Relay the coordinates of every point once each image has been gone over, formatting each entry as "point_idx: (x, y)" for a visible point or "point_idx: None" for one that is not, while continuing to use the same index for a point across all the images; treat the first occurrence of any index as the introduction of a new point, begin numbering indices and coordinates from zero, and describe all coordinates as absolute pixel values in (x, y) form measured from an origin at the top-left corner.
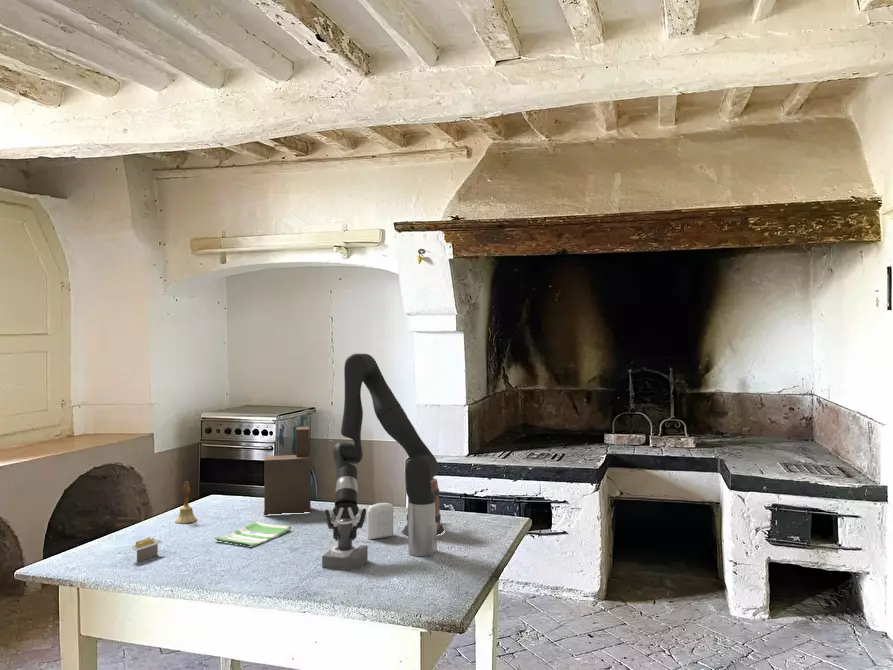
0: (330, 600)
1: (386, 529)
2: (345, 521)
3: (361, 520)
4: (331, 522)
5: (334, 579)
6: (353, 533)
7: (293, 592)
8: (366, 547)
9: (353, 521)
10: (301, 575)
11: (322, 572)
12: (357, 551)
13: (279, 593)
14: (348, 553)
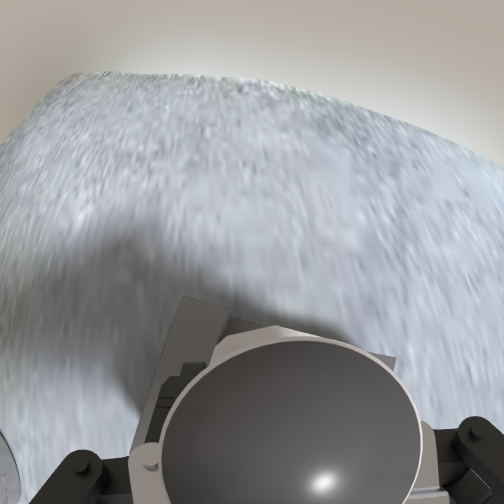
0: (271, 96)
1: None
2: (274, 340)
3: (61, 487)
4: (469, 450)
5: (290, 218)
6: (185, 383)
7: (384, 139)
8: (136, 437)
9: (163, 502)
10: (423, 264)
11: (357, 296)
12: (183, 346)
13: (414, 140)
14: (241, 333)
